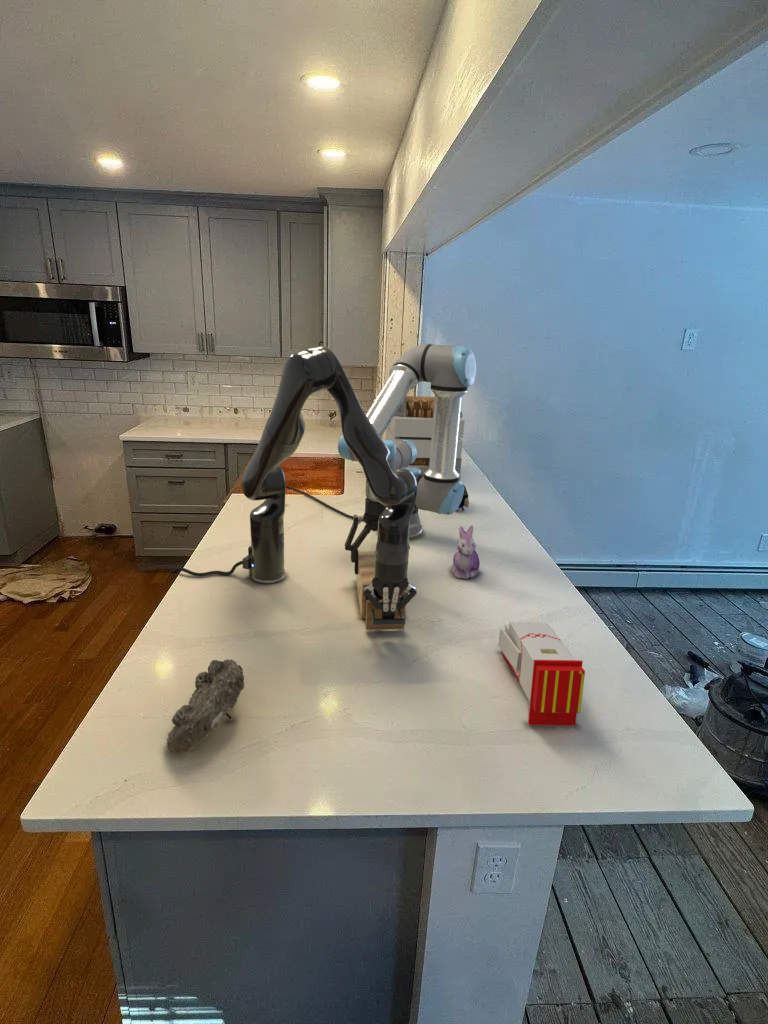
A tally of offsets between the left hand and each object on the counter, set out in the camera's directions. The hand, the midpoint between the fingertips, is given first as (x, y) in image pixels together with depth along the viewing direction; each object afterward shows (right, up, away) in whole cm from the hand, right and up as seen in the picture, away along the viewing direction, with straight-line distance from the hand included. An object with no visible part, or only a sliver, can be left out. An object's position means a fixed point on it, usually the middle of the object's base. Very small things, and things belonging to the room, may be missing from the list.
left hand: (387, 623), depth 134 cm
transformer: (+16, +45, +141) cm, 149 cm away
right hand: (-3, +9, +25) cm, 27 cm away
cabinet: (-3, +3, +21) cm, 21 cm away
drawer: (-1, 0, +11) cm, 11 cm away
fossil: (-34, -13, -26) cm, 44 cm away
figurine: (+24, +8, +38) cm, 46 cm away
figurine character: (+29, +28, +96) cm, 104 cm away
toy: (+31, -11, -12) cm, 35 cm away
